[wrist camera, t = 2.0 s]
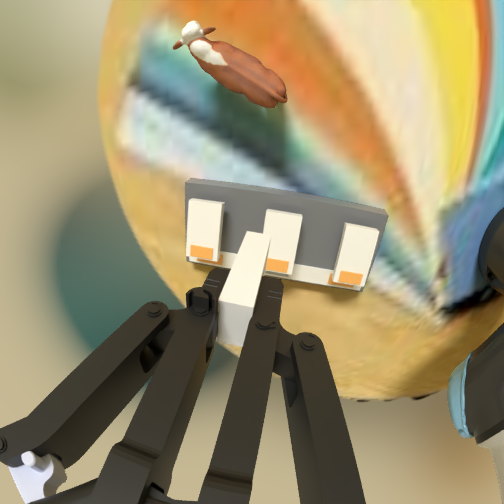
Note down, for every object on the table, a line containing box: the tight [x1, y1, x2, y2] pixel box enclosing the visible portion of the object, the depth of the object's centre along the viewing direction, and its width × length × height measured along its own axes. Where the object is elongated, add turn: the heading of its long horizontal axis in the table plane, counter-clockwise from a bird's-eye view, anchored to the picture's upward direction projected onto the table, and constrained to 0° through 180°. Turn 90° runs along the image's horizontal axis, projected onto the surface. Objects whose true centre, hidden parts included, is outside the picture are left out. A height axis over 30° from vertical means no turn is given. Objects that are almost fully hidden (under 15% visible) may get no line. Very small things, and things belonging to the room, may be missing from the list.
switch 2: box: [332, 222, 379, 287], centre depth 31 cm, size 4×7×1 cm, turn 173°
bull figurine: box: [173, 21, 287, 108], centre depth 23 cm, size 4×13×8 cm, turn 46°
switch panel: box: [185, 178, 388, 292], centre depth 35 cm, size 25×12×4 cm, turn 83°
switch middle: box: [263, 209, 302, 275], centre depth 32 cm, size 4×7×1 cm, turn 174°
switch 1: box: [186, 198, 225, 262], centre depth 33 cm, size 4×7×1 cm, turn 173°
